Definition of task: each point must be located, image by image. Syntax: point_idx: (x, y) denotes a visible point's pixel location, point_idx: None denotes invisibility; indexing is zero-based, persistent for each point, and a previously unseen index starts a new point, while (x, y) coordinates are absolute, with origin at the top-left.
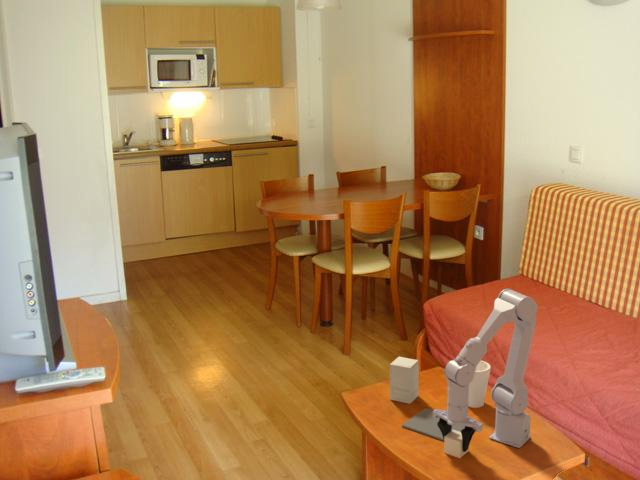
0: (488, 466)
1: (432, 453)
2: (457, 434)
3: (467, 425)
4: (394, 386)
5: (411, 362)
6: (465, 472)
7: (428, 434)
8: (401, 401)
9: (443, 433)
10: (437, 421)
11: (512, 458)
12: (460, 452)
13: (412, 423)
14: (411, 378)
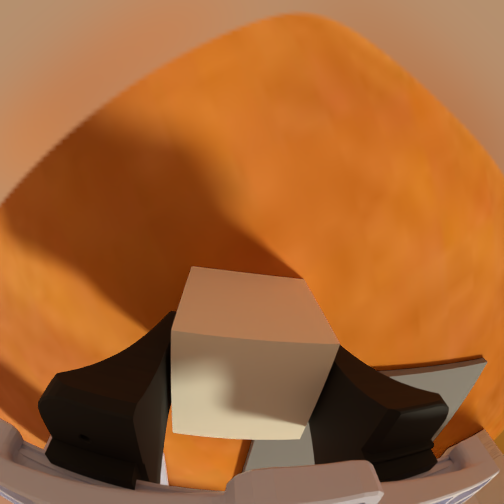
0: (39, 260)
1: (362, 236)
2: (248, 411)
3: (56, 487)
4: (494, 457)
5: None
6: (102, 129)
7: (407, 373)
8: None
9: (357, 369)
10: None
11: (23, 361)
12: (186, 286)
13: (458, 391)
14: (472, 501)
